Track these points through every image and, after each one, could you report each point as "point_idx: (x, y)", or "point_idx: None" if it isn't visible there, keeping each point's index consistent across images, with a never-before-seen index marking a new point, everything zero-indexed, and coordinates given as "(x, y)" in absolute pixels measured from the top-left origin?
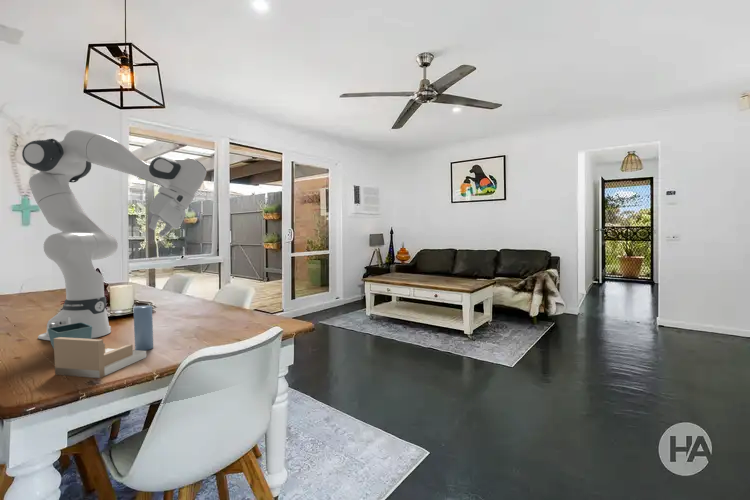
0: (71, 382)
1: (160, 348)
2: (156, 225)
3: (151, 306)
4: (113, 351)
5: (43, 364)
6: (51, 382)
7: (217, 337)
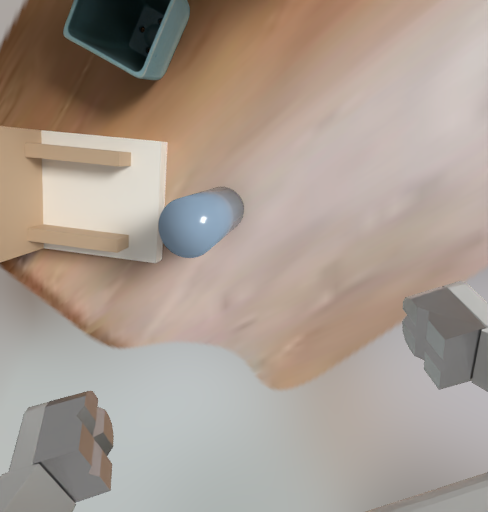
0: None
1: (228, 252)
2: (77, 498)
3: (202, 252)
4: (65, 243)
5: None
6: None
7: (336, 359)
